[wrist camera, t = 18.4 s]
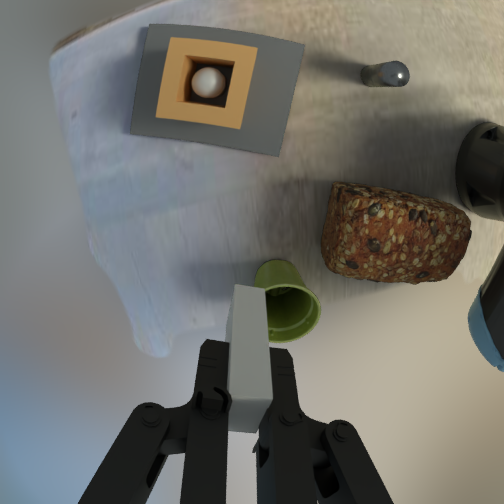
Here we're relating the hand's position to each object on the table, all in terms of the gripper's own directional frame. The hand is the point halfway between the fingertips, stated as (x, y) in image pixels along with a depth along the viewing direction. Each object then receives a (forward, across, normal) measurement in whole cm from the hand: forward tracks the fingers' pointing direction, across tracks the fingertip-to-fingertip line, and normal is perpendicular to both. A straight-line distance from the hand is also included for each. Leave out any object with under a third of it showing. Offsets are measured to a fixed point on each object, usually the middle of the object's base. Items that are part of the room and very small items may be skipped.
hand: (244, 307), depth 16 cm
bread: (+25, -20, +1) cm, 32 cm away
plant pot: (+25, -7, +13) cm, 29 cm away
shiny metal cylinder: (+24, -12, -17) cm, 32 cm away
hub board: (+24, +6, -11) cm, 27 cm away
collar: (+23, +6, -11) cm, 26 cm away
